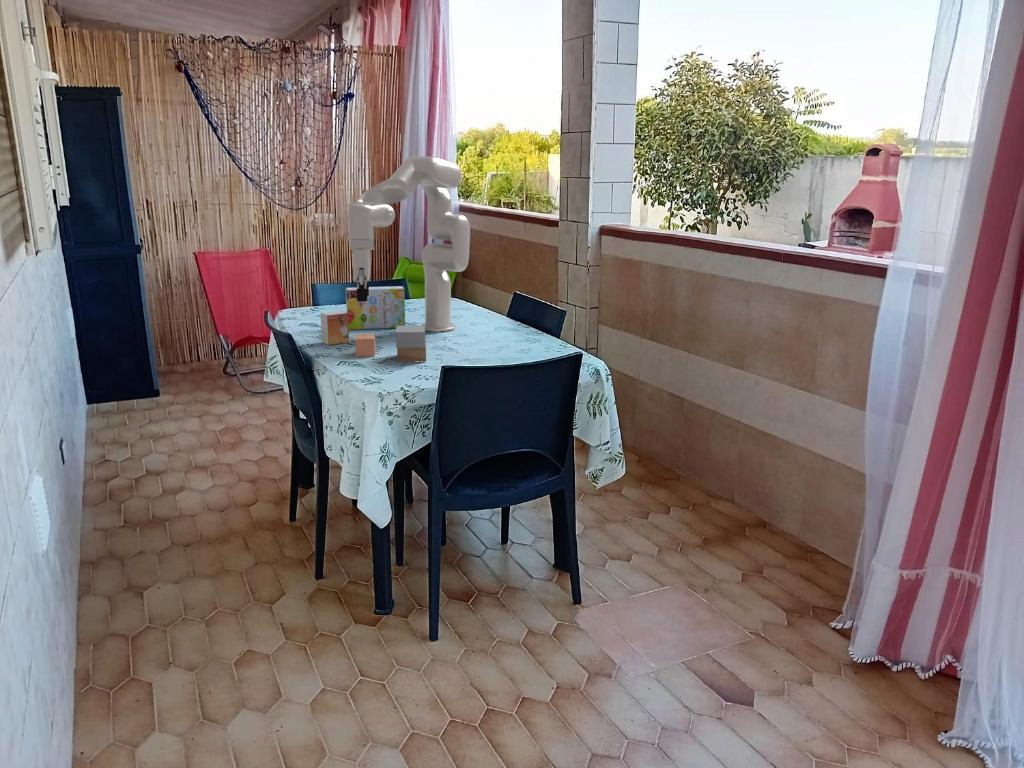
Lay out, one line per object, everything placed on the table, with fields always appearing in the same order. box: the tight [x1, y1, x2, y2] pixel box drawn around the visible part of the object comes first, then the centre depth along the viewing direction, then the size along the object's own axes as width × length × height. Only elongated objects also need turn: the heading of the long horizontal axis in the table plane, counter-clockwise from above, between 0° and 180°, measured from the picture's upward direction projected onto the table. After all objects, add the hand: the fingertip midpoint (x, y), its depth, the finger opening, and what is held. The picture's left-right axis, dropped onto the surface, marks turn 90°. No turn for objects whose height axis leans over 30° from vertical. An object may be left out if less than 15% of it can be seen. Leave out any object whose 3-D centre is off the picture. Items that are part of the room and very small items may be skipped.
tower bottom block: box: [396, 341, 427, 363], centre depth 249 cm, size 9×9×5 cm
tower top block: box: [395, 325, 426, 349], centre depth 247 cm, size 9×9×5 cm
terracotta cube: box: [354, 333, 376, 357], centre depth 252 cm, size 6×6×6 cm
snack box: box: [345, 285, 406, 330], centre depth 288 cm, size 21×6×15 cm, turn 104°
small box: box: [320, 310, 350, 346], centre depth 265 cm, size 8×6×10 cm
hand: (363, 298), depth 247 cm, fingers open, 9 cm apart
